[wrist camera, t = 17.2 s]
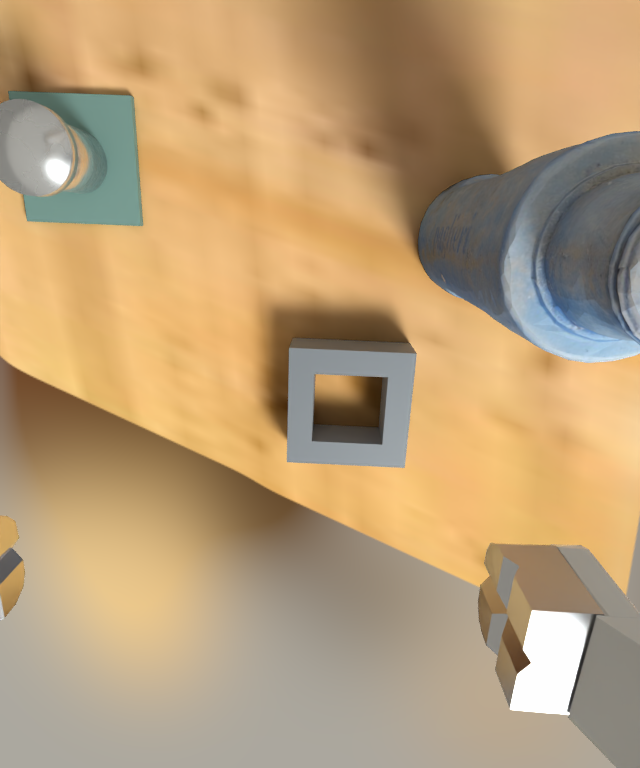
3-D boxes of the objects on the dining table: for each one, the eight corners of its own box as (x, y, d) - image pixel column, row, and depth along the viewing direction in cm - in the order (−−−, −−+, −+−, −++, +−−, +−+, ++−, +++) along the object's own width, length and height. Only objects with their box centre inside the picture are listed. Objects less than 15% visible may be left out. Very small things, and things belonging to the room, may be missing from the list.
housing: (292, 337, 45) (289, 347, 41) (409, 342, 45) (416, 353, 41) (290, 443, 48) (286, 462, 45) (399, 448, 48) (404, 467, 45)
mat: (12, 93, 39) (8, 90, 39) (133, 97, 39) (130, 95, 39) (31, 221, 42) (27, 221, 42) (143, 225, 42) (140, 225, 42)
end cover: (35, 119, 39) (-25, 97, 33) (110, 121, 39) (64, 100, 33) (46, 199, 41) (-9, 194, 35) (117, 202, 41) (76, 197, 34)
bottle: (538, 183, 40) (1031, 79, 12) (514, 300, 43) (858, 441, 15) (425, 173, 40) (645, 46, 12) (409, 291, 43) (552, 414, 15)
